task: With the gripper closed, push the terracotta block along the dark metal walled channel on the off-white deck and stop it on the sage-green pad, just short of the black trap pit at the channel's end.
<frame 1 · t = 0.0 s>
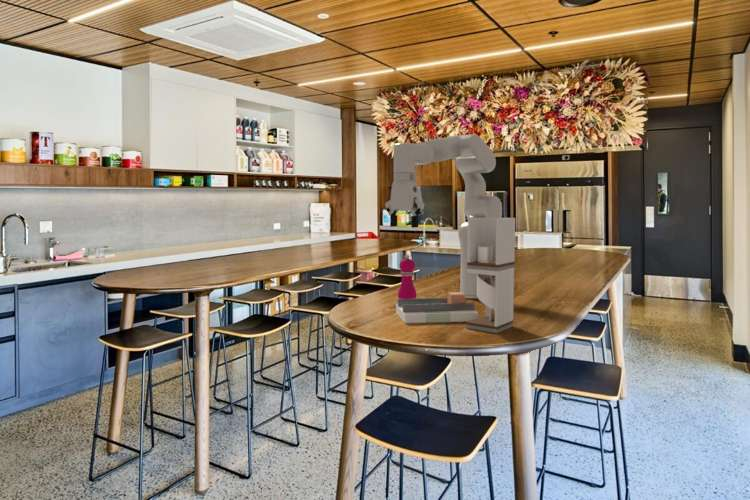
hand: (404, 226, 189), 31 cm above the table, tool pointing down, fingers open, 9 cm apart
pepper mill: (407, 306, 204), on the table
display case: (489, 327, 170), on the table
channel deck: (435, 316, 187), on the table
terracotta block: (456, 307, 187), point 3 cm above the table, touching channel deck
channel walls: (435, 304, 186), on the channel deck, point 4 cm above the table
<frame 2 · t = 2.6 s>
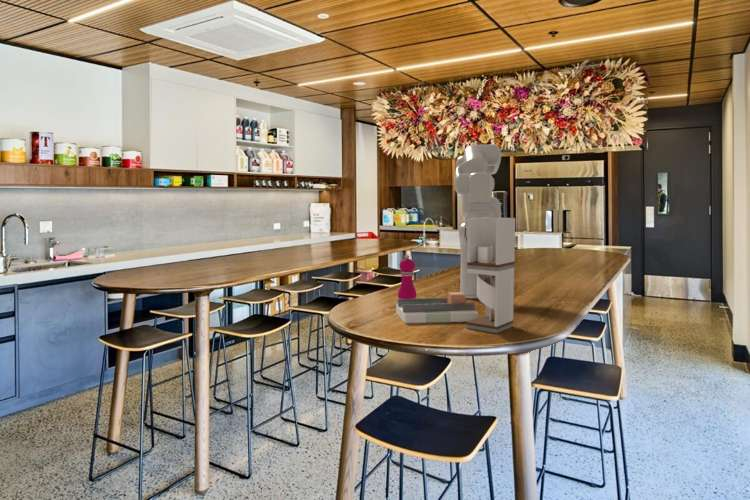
hand: (478, 260, 186), 19 cm above the table, tool pointing down, fingers closed
nothing on the table moved.
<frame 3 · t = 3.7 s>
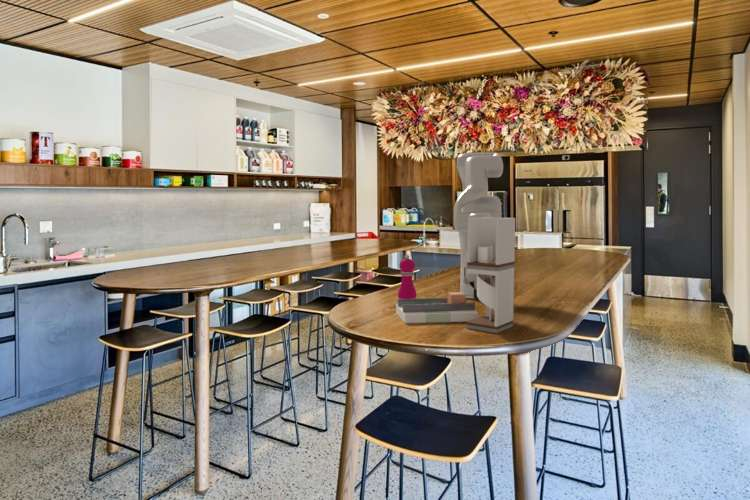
hand: (478, 299, 188), 6 cm above the table, tool pointing down, fingers closed
nothing on the table moved.
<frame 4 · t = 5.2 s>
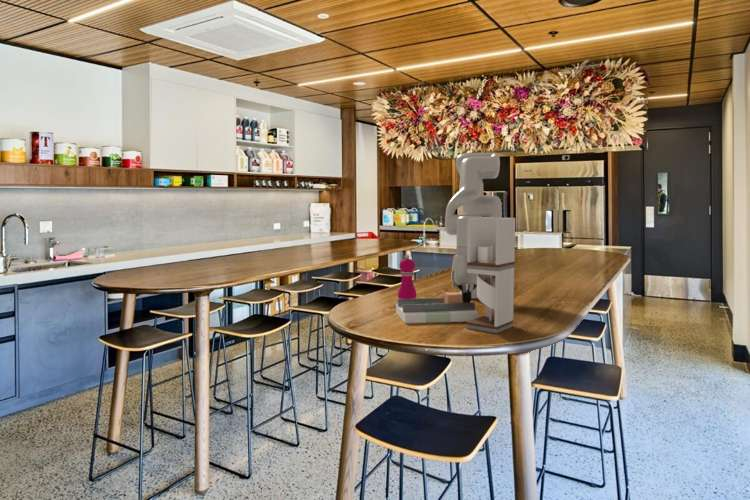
hand: (466, 303, 187), 4 cm above the table, tool pointing down, fingers closed
terracotta block: (453, 307, 187), point 3 cm above the table, touching channel deck, gripper
everything else where it was.
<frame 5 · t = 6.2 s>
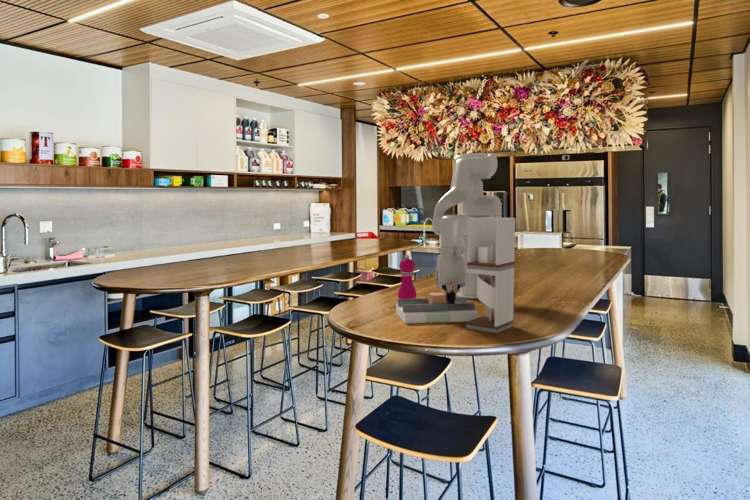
hand: (450, 303, 187), 5 cm above the table, tool pointing down, fingers closed
terracotta block: (437, 308, 186), point 3 cm above the table, touching channel deck, gripper
everything else where it was.
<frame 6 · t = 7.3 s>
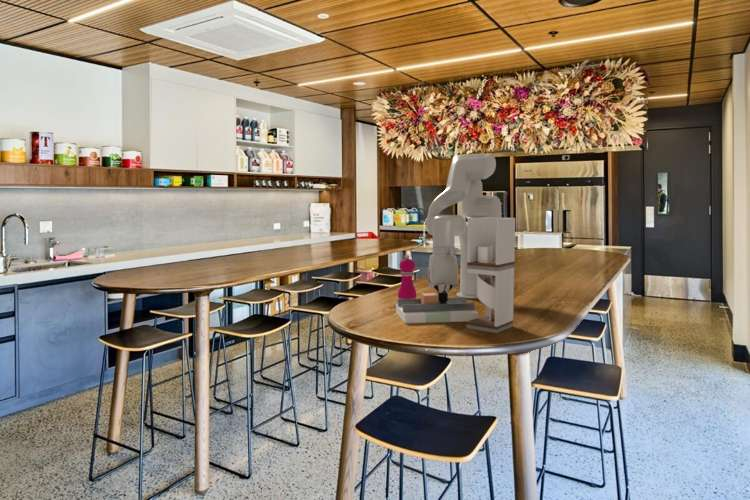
hand: (442, 303, 186), 5 cm above the table, tool pointing down, fingers closed
terracotta block: (429, 308, 186), point 3 cm above the table, touching channel deck, gripper
everything else where it was.
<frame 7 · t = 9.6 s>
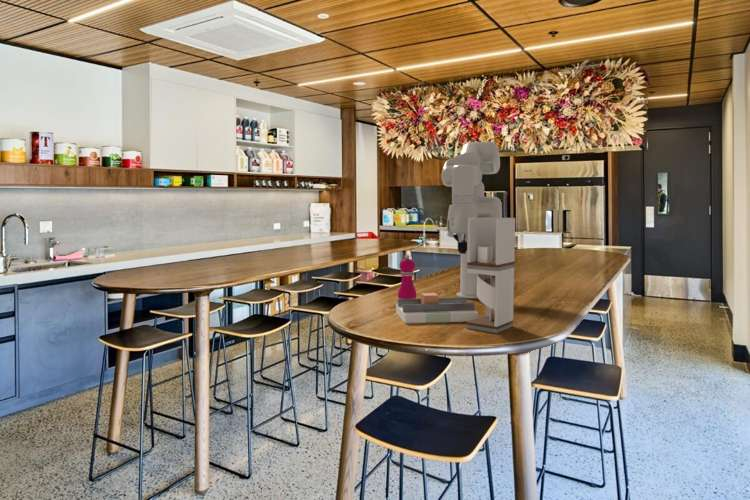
hand: (462, 253, 186), 22 cm above the table, tool pointing down, fingers closed
terracotta block: (429, 308, 186), point 3 cm above the table, touching channel deck
everything else where it was.
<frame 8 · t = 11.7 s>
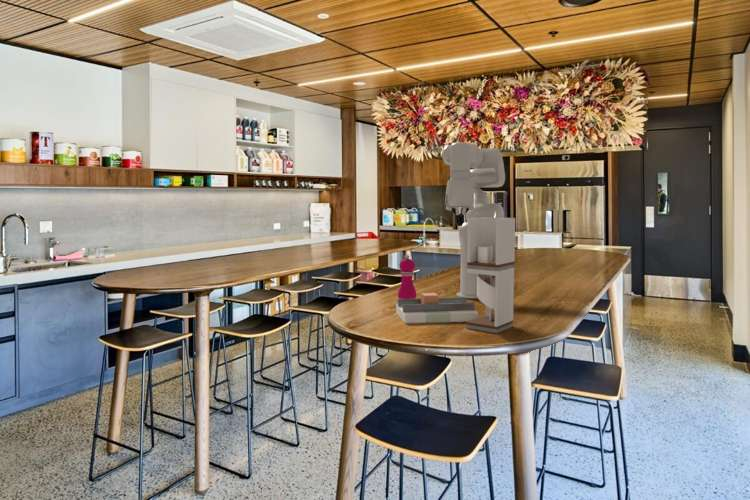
hand: (459, 225, 199), 31 cm above the table, tool pointing down, fingers closed
nothing on the table moved.
at the end: terracotta block inside the target area (1.7 cm from its centre), point 3.0 cm above the table; terracotta block tilted 0°; terracotta block moved 9.7 cm from its start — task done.
